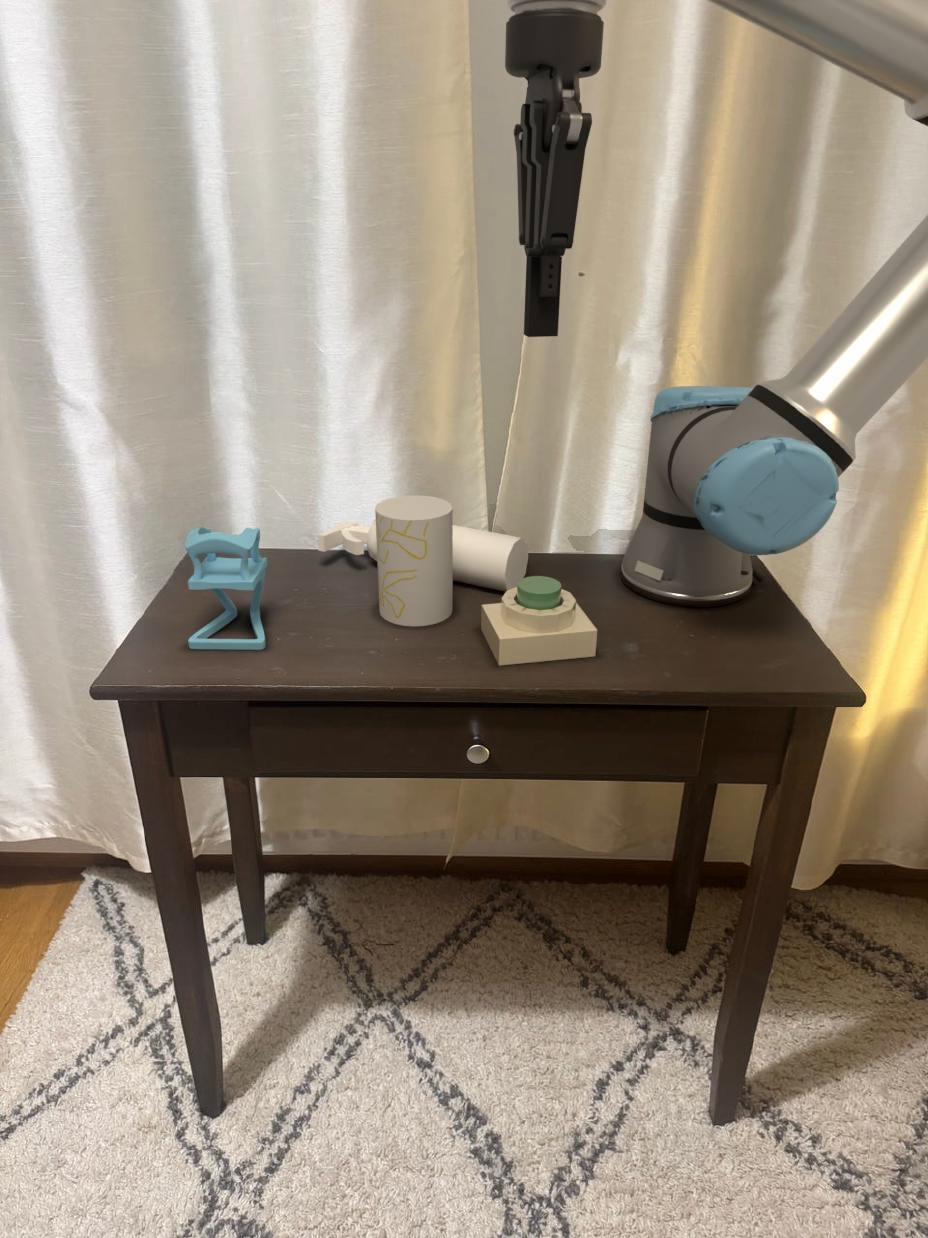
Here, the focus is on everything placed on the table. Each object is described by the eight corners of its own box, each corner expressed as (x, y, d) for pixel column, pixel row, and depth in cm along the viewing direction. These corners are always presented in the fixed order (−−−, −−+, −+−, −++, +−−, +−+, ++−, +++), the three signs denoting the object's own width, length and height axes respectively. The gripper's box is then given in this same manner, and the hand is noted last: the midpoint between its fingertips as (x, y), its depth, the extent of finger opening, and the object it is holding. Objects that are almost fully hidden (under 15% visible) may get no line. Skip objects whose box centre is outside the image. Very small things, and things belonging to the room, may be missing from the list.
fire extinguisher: (541, 520, 103) (365, 495, 113) (501, 548, 93) (312, 519, 103) (539, 572, 106) (367, 544, 116) (500, 605, 96) (315, 571, 106)
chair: (280, 614, 94) (270, 510, 88) (264, 650, 86) (252, 539, 81) (210, 613, 94) (196, 509, 88) (188, 649, 86) (171, 538, 81)
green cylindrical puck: (553, 592, 88) (554, 574, 88) (566, 610, 85) (567, 591, 84) (511, 595, 88) (512, 577, 87) (523, 614, 84) (524, 595, 83)
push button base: (570, 622, 93) (573, 579, 90) (595, 656, 86) (599, 611, 83) (480, 629, 91) (481, 586, 88) (498, 666, 84) (500, 620, 81)
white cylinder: (364, 610, 95) (359, 507, 89) (416, 588, 100) (414, 490, 95) (415, 633, 90) (413, 525, 85) (467, 609, 95) (468, 506, 90)
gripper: (487, 27, 70) (482, 326, 81) (533, -7, 59) (520, 347, 69) (573, 31, 72) (557, 325, 82) (634, -1, 60) (607, 345, 71)
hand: (540, 335), depth 76 cm, fingers closed
